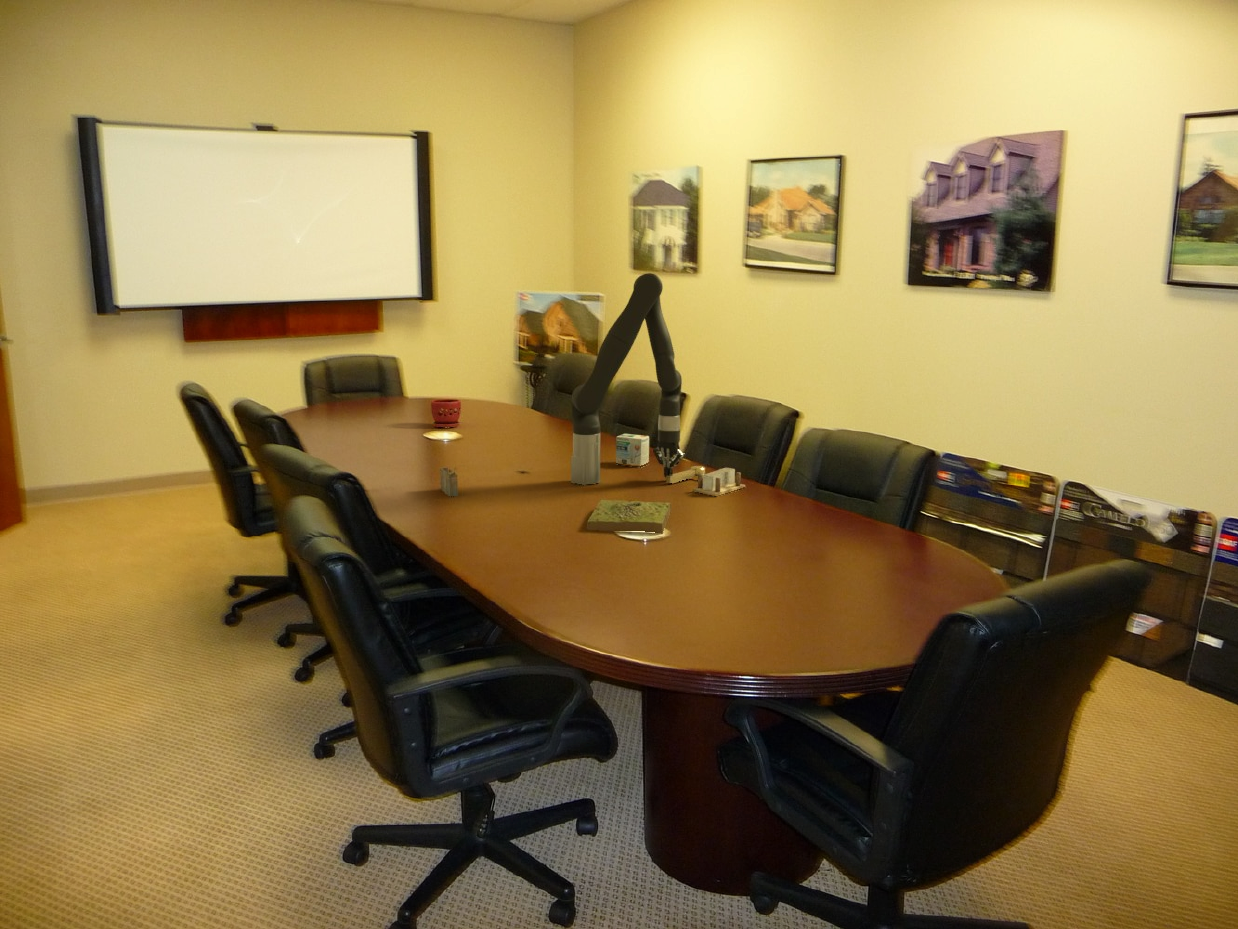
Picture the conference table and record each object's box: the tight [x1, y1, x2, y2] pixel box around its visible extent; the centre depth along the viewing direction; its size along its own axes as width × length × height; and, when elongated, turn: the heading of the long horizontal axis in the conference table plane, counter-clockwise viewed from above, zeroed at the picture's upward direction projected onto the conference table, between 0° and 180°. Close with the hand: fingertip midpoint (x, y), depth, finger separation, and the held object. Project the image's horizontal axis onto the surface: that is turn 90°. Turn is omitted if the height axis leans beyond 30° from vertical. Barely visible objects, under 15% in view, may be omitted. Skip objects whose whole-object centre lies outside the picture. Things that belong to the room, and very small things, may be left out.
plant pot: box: [430, 398, 462, 429], centre depth 432 cm, size 13×13×12 cm
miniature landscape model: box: [586, 499, 672, 535], centre depth 285 cm, size 22×24×5 cm
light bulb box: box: [615, 433, 650, 466], centre depth 359 cm, size 11×7×11 cm, turn 62°
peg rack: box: [692, 468, 746, 497], centre depth 322 cm, size 16×10×6 cm, turn 137°
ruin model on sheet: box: [439, 466, 459, 498], centre depth 316 cm, size 11×3×10 cm, turn 24°
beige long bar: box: [665, 465, 706, 484], centre depth 336 cm, size 18×5×3 cm, turn 137°
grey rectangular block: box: [703, 467, 736, 491], centre depth 322 cm, size 14×4×5 cm, turn 142°
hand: (668, 477), depth 335 cm, fingers closed
